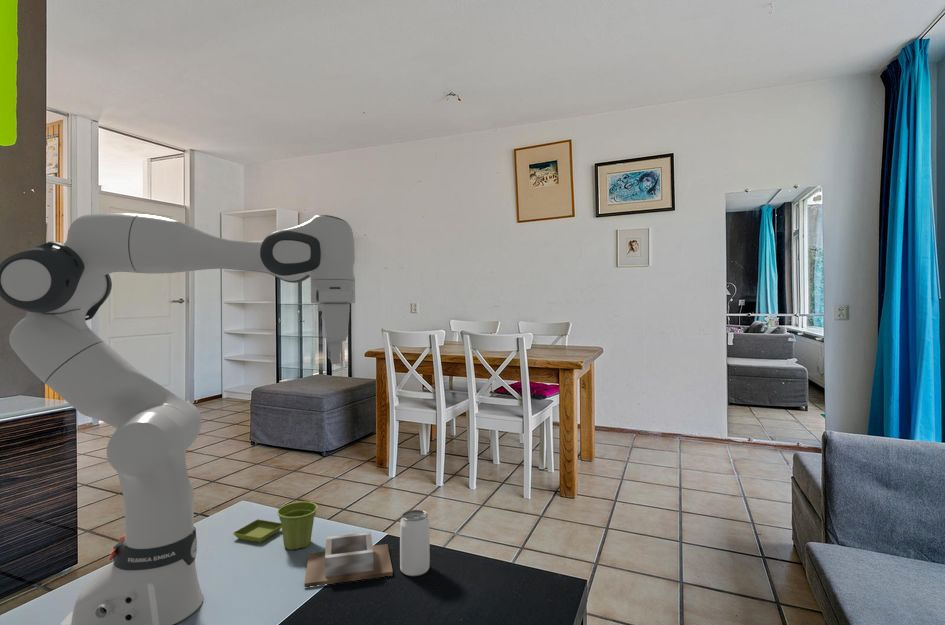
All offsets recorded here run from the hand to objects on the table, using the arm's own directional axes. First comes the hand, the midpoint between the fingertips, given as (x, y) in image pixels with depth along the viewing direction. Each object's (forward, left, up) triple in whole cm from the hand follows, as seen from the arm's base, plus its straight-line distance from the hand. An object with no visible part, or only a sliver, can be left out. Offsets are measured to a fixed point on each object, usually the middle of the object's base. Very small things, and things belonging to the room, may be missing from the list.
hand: (333, 361), depth 101 cm
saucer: (-19, +29, -47) cm, 58 cm away
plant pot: (-9, +21, -47) cm, 52 cm away
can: (+17, +2, -47) cm, 50 cm away
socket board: (+3, +7, -47) cm, 48 cm away
